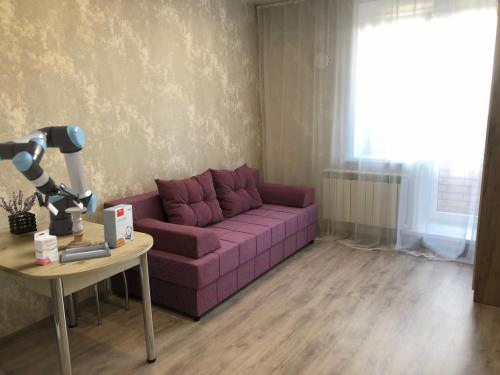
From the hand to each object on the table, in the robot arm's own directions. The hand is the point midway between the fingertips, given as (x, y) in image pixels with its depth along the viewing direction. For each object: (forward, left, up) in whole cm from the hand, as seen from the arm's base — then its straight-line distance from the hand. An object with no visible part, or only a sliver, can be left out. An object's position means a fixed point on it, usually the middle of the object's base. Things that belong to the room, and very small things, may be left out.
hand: (69, 210), depth 194 cm
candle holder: (-14, +3, -23) cm, 27 cm away
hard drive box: (-10, +23, -23) cm, 34 cm away
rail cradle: (+3, +6, -23) cm, 24 cm away
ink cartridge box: (+5, -11, -23) cm, 26 cm away
